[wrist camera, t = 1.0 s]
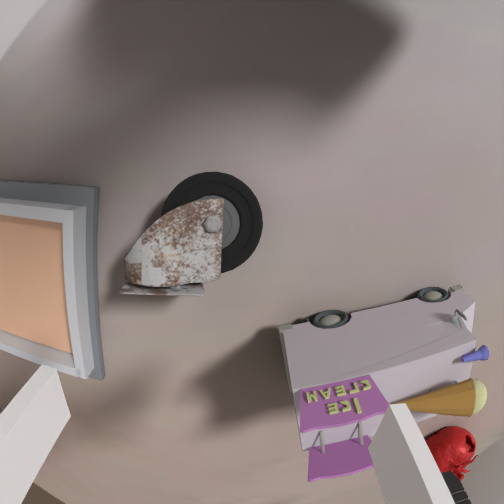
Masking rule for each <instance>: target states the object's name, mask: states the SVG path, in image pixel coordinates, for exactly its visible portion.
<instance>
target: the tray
mask: <svg viewBox="0 0 504 504" xmlns="http://www.w3.org/2000/svg"><path fill="white" fill-rule="evenodd" d="M98 199H99V187H92V186H80V185H67V184H53V183H38V182H21V181H1V180H0V349H1V350H3V351H5V352H8V353H10V354H13V355H15V356H18V357H21V358H23V359H26V360H28V361H31V362H34V363H37V364H39V365H46V366H49V367H52V368H55V369H57V371H60V372H63V373H66V374H69V375H72V376H76V377H79V378H82V379H87V378H88V377H91V378H95V379H98V380H103V379H104V377H105V370H104V362H103V353H102V343H101V332H100V319H99V304H98V280H97V223H98Z"/></svg>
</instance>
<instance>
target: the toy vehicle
mask: <svg viewBox="0 0 504 504" xmlns="http://www.w3.org/2000/svg"><path fill="white" fill-rule="evenodd" d="M474 309H475V300H474V299H473V298H471V297H470V296H469V295H467V294H466V293H465V292H463V287H462V286H461V285H456V286H452V287H450V289H448V292H447V291H446V290H445V289H442V288H439V287H428V288H425V289H422V290H421V291H420V292H419V293H418V294H417V298H414V299H410V300H406V301H402V302H398V303H393V304H389V305H385V306H381V307H376V308H372V309H367V310H363V311H358V312H354V313H351V319H349V317H348V315H347V314H346V313H345V312H343V311H340V310H328V311H324V312H321V313H319V314H317V315H316V316H315V317H314V319H313V321H312V325H311V323H310V321H309V318H308V317H306V322H305V323H300V324H296V325H292V323H291V324H286V325H280V326H278V329H279V335H280V341H281V346H282V352H283V358H284V363H285V369H286V375H287V381H288V387H289V392H290V393H293V398H294V404H295V410H296V417H297V423H298V429H299V435H300V441H301V448H302V451H306V450H309V466H308V481H309V482H312V481H316V480H319V479H325V478H335V477H341V476H346V475H351V474H354V473H357V472H360V471H363V470H366V469H369V468H372V467H374V465H373V462H372V459H371V456H370V453H369V450H368V447H369V445H370V443H371V440H370V438H369V437H370V436H374V435H375V433H376V431H377V429H378V427H379V425H380V423H381V421H382V419H383V417H384V415H385V413H386V410H387V408H388V406H389V404H401V403H406V405H407V407H408V409H409V410H410V412H411V414H412V416H413V418H414V420H415V422H419V421H422V420H425V419H428V418H430V417H433V416H436V415H438V414H442V415H453V416H466V417H470V416H471V415H474V414H476V413H477V412H479V411H480V410H481V409H482V407H483V406H484V404H485V402H486V399H487V390H486V387H485V386H484V384H483V383H482V382H481V381H479V380H477V379H471V378H469V376H470V372H471V367H472V363H473V361H476V360H488V357H489V351H488V349H487V347H486V346H484V345H482V346H481V347H480V348H479V349H478V351H475V347H476V342H477V338H476V337H475V336H474V335H473V334H472V333H471V332H472V325H473V318H474Z"/></svg>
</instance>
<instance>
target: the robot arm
mask: <svg viewBox="0 0 504 504" xmlns="http://www.w3.org/2000/svg"><path fill="white" fill-rule="evenodd" d="M70 417H71V415H70V412H69V409H68V406H67V403H66V399H65V396H64V393H63V390H62V386H61V383H60V379H59V376H58V372H57V369H55V368H52V367H49V366H46V365H41V366H40V368H39V369H38V370H37V371H36V372H35V373H34V374H33V376H32V377H31V378H30V379H29V380H28V381H27V383H26V384H25V385H24V386H23V387H22V389H21V390H20V391H19V392H18V393H17V395H16V396H15V397H14V398H13V399H12V401H11V402H10V403H9V404H8V406H7V407H6V408H5V409H4V411H3V412H2V413H1V414H0V504H21V503H22V501H23V499H24V497H25V495H26V493H27V492H28V490H29V488H30V486H31V484H32V482H33V481H34V479H35V477H36V475H37V473H38V472H39V470H40V468H41V466H42V464H43V463H44V461H45V459H46V457H47V456H48V454H49V452H50V450H51V449H52V447H53V445H54V444H55V442H56V440H57V438H58V437H59V435H60V433H61V432H62V430H63V428H64V427H65V425H66V423H67V422H68V420H69V418H70ZM368 450H369V453H370V456H371V459H372V462H373V465H374V468H375V471H376V474H377V477H378V481H379V484H380V487H381V490H382V493H383V496H384V500H385V503H386V504H471V502H470V500H468V496H467V494H466V492H464V488H463V486H462V484H461V482H460V480H459V478H458V477H457V476H456V475H454V474H453V473H452V472H451V471H446V472H443V473H441V472H440V470H439V468H438V466H437V464H436V462H435V460H434V458H433V456H432V454H431V452H430V450H429V448H428V446H427V444H426V442H425V440H424V438H423V436H422V434H421V432H420V430H419V428H418V426H417V424H416V422H415V420H414V418H413V416H412V414H411V412H410V410H409V409H408V407H407V405H406V403H401V404H389V406H388V408H387V410H386V413H385V415H384V417H383V419H382V421H381V423H380V425H379V427H378V429H377V431H376V433H375V435H374V437H373V439H372V441H371V443H370V445H369V447H368Z"/></svg>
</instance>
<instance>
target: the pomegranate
mask: <svg viewBox="0 0 504 504" xmlns="http://www.w3.org/2000/svg"><path fill="white" fill-rule="evenodd" d="M425 442H426V444H427V446H428V448H429V450H430V452H431V454H432V456H433V458H434V460H435V462H436V464H437V466H438V468H439V470H440V472H441V473H443V472H446V471H451V472H452V473H453V474H454V475H456V476H457V477H458V478H459V480H460V481H461V480H462V479H463V478H464V475H463V474H461V473H462V472H464V473H467V472H469V471H467V470H465V467H466V466H467V465H468V464H469V463H472V462H473V461H474V460H475V458H476V456H478V455H476V456H475V457H474V459H473V460H471V458H472V457H473V455H474V452H475V449H476V442H475V439H474V437H473V435H472V434H471V433H470V432H469V431H467V430H466V429H463V428H461V427H458V426H451V427H446V428H443V429H442V430H440V431H438V432H437V433H436V434H435V435H433V436H430V437H429V438H428V439H427V440H426V441H425ZM470 460H471V461H470Z"/></svg>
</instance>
